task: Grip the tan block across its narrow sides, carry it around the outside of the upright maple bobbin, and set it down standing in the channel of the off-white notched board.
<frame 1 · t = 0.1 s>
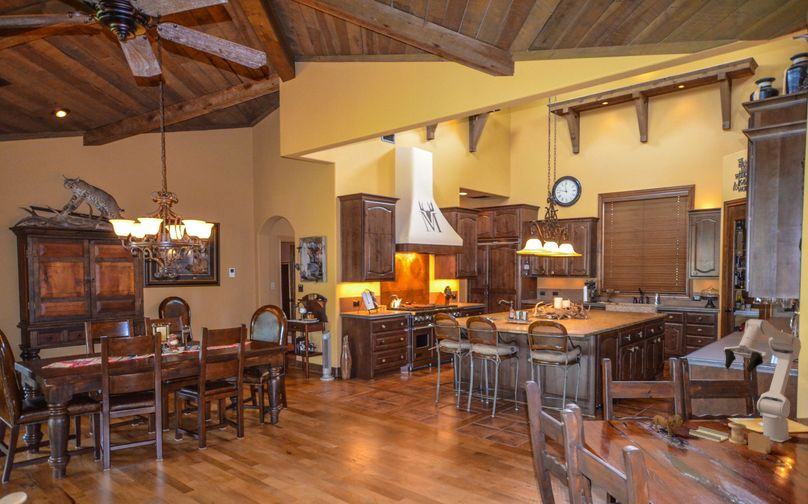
hand: (737, 368, 189), 32 cm above the table, tool tilted 50°, fingers open, 7 cm apart
lion figurine: (666, 433, 211), on the table
bobbin: (737, 442, 198), on the table
notched board: (709, 436, 206), on the table
tan block: (759, 450, 189), on the table
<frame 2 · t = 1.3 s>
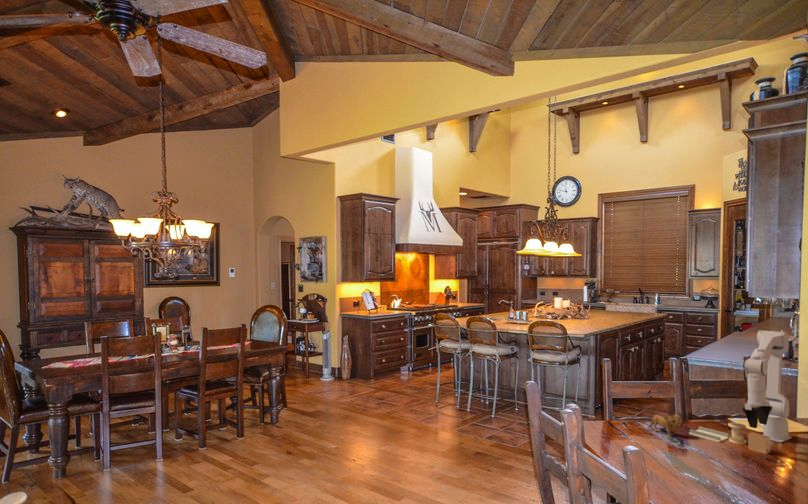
hand: (758, 425, 189), 10 cm above the table, tool pointing down, fingers open, 7 cm apart
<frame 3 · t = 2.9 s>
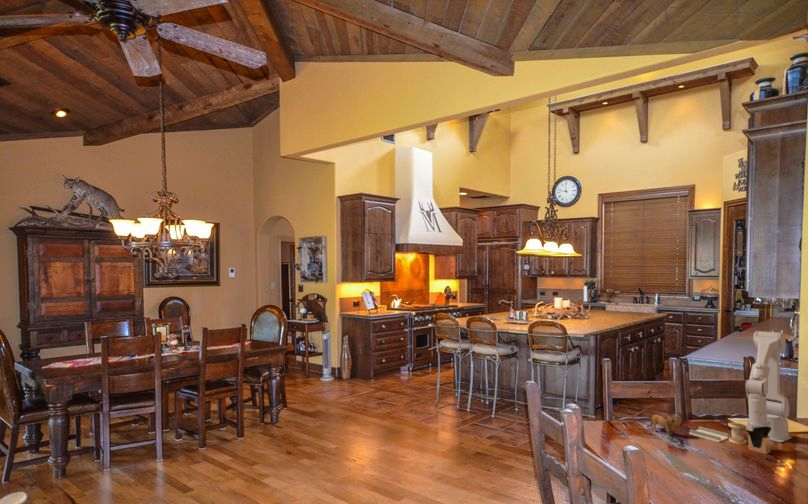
hand: (759, 446, 189), 2 cm above the table, tool pointing down, fingers closed on tan block, 3 cm apart
tan block: (759, 450, 189), on the table, touching gripper
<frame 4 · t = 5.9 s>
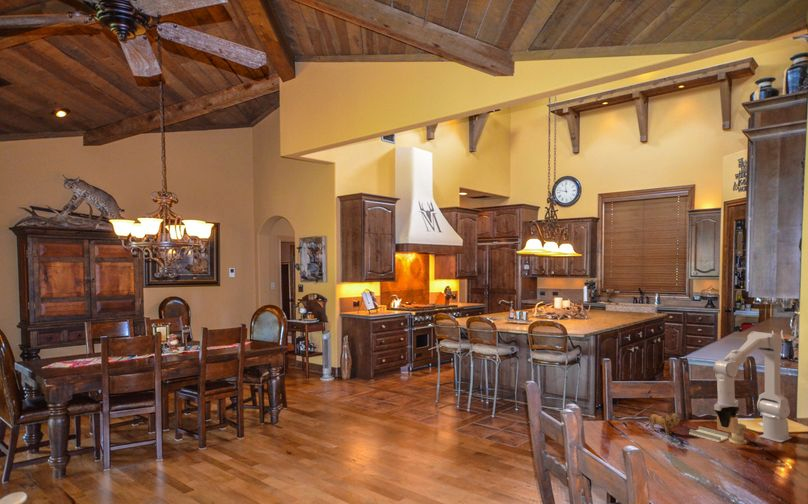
hand: (727, 425, 193), 8 cm above the table, tool pointing down, fingers closed on tan block, 3 cm apart
tan block: (727, 430, 193), point 7 cm above the table, touching gripper
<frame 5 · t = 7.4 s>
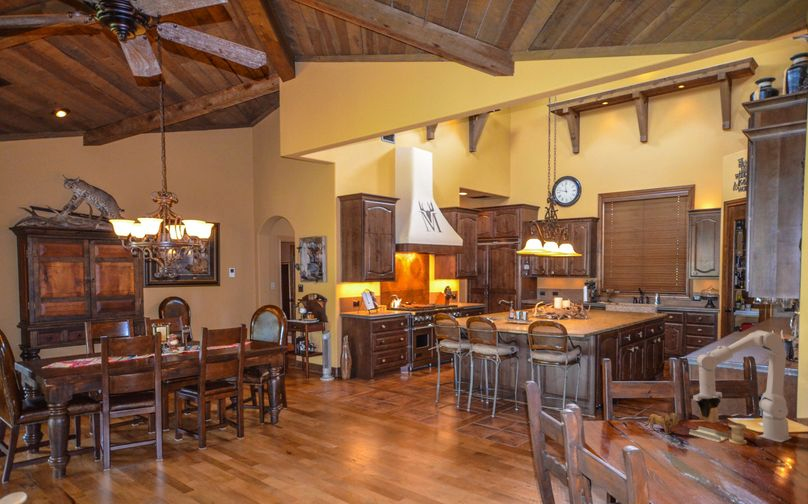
hand: (708, 416, 206), 8 cm above the table, tool pointing down, fingers closed on tan block, 3 cm apart
tan block: (708, 420, 206), point 7 cm above the table, touching gripper
when the fingers open (3 cm above the table, at t = 8.9 s): tan block drops 1 cm, resting on notched board.
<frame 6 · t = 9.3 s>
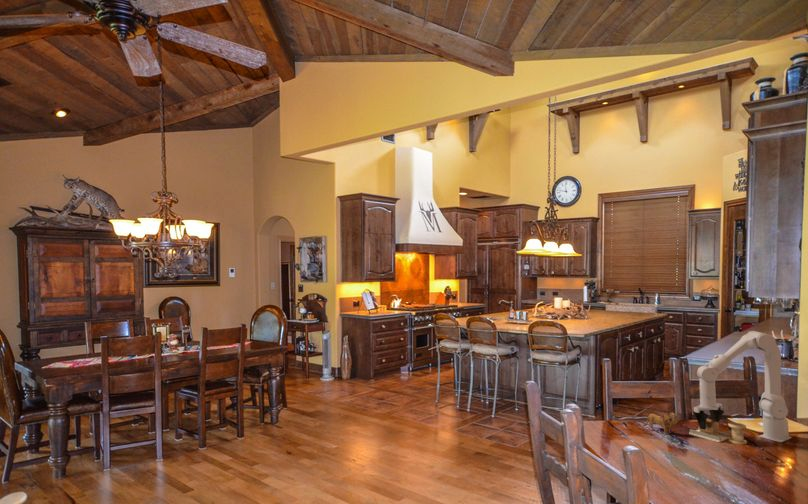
hand: (709, 427, 206), 4 cm above the table, tool pointing down, fingers open, 7 cm apart
tan block: (709, 434, 206), point 1 cm above the table, touching notched board
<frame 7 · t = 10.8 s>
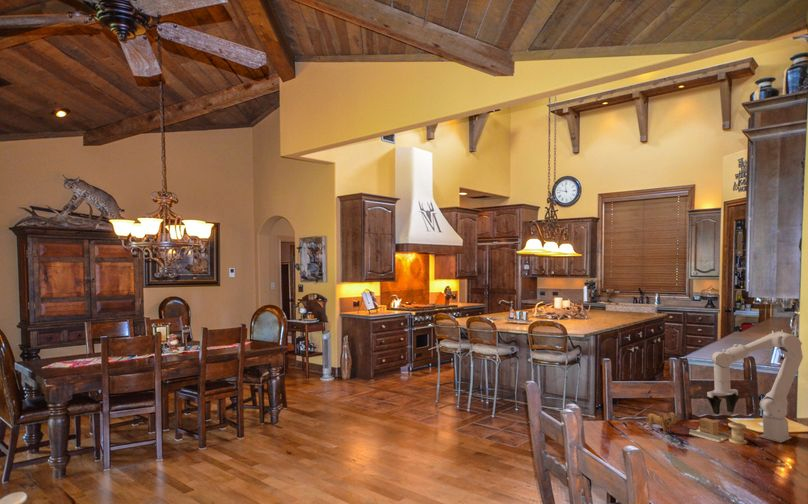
hand: (723, 412, 207), 9 cm above the table, tool pointing down, fingers open, 7 cm apart
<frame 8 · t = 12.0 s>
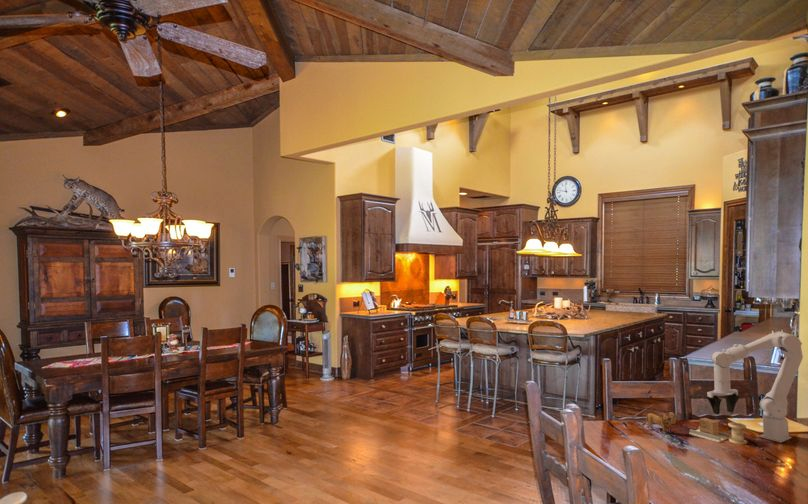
hand: (723, 412, 207), 9 cm above the table, tool pointing down, fingers open, 7 cm apart
at the end: tan block 0.1 cm off-centre on the notched board, point 0.6 cm above the notched board's base; tan block tilted 0°; the gripper is holding nothing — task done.
